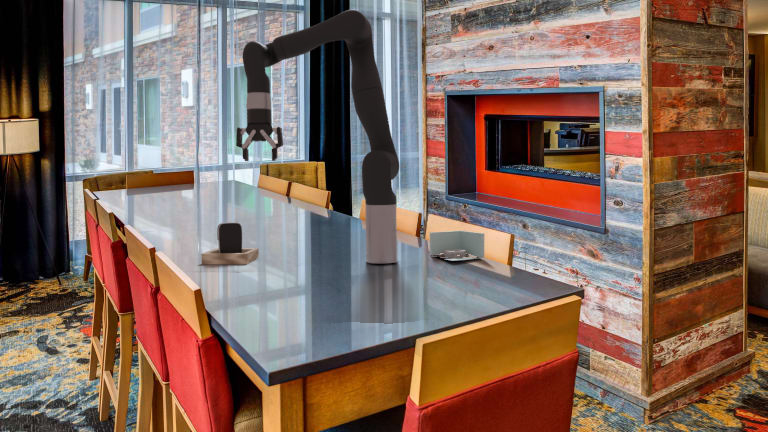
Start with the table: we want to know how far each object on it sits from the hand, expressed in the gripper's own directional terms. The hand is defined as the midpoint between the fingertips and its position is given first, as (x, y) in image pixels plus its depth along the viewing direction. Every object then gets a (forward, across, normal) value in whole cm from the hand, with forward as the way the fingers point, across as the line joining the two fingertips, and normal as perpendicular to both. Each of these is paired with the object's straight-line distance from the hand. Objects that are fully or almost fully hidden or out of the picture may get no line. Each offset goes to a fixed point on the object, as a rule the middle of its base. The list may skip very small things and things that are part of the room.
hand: (260, 160), depth 193 cm
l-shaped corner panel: (+30, -61, +1) cm, 68 cm away
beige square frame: (+30, +7, +10) cm, 32 cm away
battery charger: (+30, +7, +10) cm, 33 cm away
